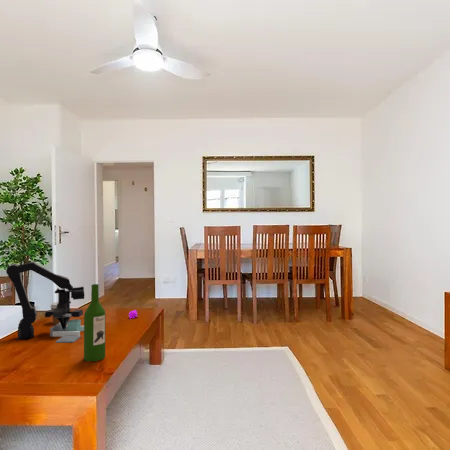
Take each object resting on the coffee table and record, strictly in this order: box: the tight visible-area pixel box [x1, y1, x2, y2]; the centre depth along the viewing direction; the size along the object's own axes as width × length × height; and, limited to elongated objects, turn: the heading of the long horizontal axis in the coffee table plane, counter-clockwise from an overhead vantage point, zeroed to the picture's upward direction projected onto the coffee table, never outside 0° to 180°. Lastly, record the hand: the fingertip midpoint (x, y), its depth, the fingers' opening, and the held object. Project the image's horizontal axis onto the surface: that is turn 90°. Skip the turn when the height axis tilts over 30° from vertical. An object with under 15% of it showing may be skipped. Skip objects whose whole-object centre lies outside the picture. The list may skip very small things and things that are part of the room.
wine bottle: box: [83, 283, 106, 362], centre depth 152 cm, size 9×9×32 cm
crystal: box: [128, 309, 138, 320], centre depth 220 cm, size 5×5×5 cm
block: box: [67, 318, 82, 333], centre depth 188 cm, size 5×5×7 cm
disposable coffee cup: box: [50, 301, 60, 326], centre depth 208 cm, size 10×10×12 cm
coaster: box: [55, 335, 82, 344], centre depth 177 cm, size 9×9×1 cm
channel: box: [49, 323, 84, 338], centre depth 188 cm, size 15×11×4 cm
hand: (64, 329), depth 188 cm, fingers closed
